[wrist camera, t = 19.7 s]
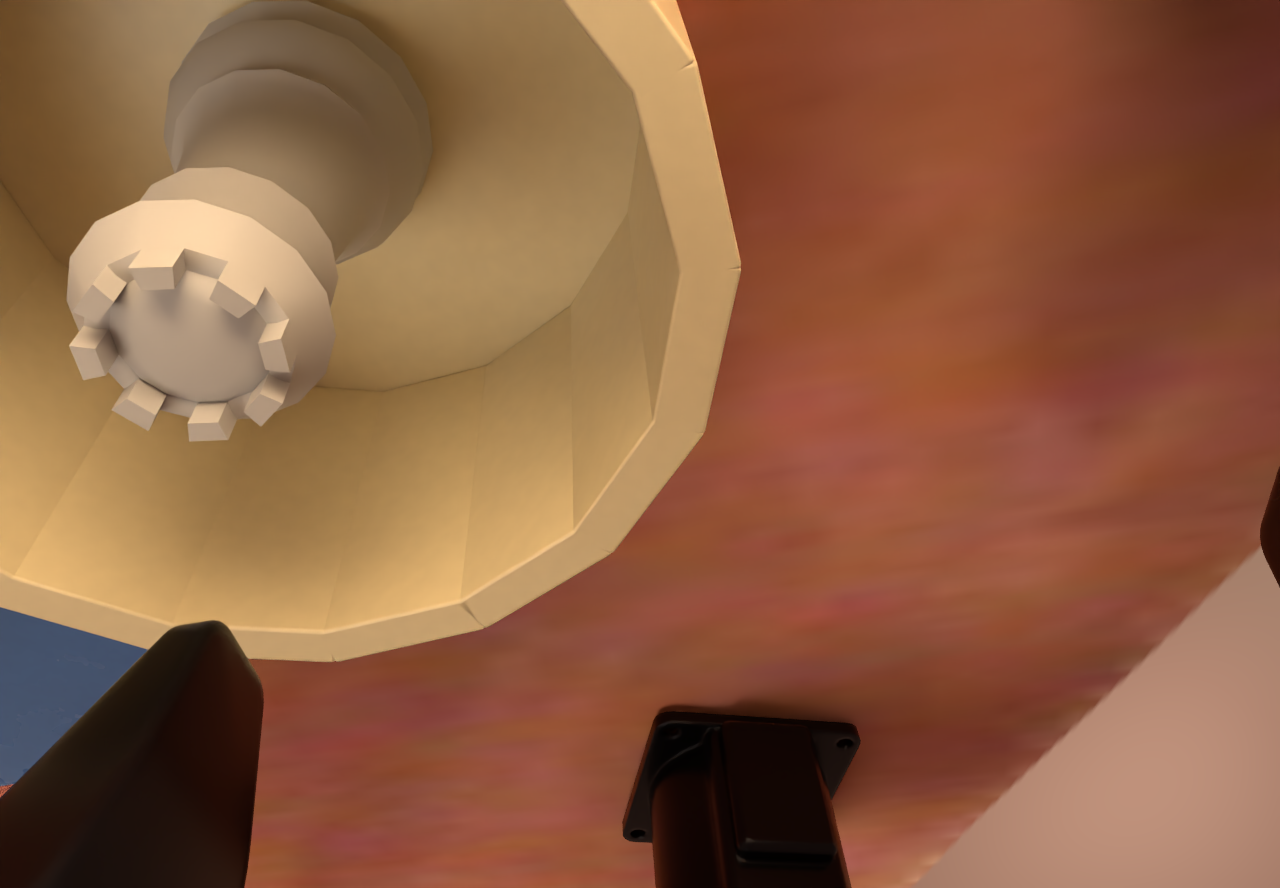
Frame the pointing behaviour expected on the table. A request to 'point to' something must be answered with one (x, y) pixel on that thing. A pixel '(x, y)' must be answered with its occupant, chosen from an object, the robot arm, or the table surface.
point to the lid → (49, 684)
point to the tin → (374, 336)
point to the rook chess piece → (250, 218)
